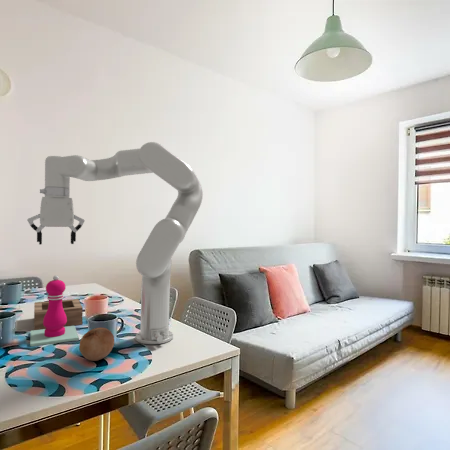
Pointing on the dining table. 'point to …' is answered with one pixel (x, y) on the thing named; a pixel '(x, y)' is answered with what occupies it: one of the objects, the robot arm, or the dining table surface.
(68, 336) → the green mat
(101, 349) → the brown oval lump
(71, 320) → the box
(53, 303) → the pepper mill
